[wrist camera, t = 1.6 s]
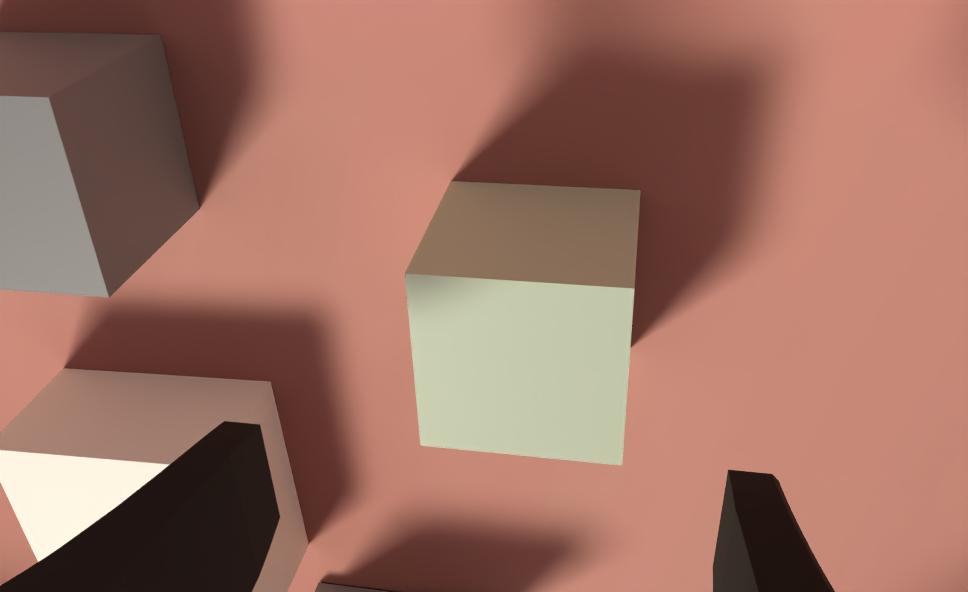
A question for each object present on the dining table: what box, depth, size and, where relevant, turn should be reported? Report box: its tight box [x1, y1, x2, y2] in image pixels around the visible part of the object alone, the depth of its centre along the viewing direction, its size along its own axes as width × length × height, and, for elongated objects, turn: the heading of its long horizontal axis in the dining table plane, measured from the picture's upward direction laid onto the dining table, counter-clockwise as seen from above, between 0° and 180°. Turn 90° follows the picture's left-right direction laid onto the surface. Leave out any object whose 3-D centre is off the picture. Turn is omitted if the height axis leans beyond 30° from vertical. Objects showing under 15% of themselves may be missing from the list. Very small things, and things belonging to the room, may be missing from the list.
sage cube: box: [405, 181, 641, 465], centre depth 18 cm, size 4×4×4 cm
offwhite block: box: [0, 368, 309, 592], centre depth 23 cm, size 6×6×4 cm
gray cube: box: [0, 31, 200, 298], centre depth 18 cm, size 4×4×4 cm
